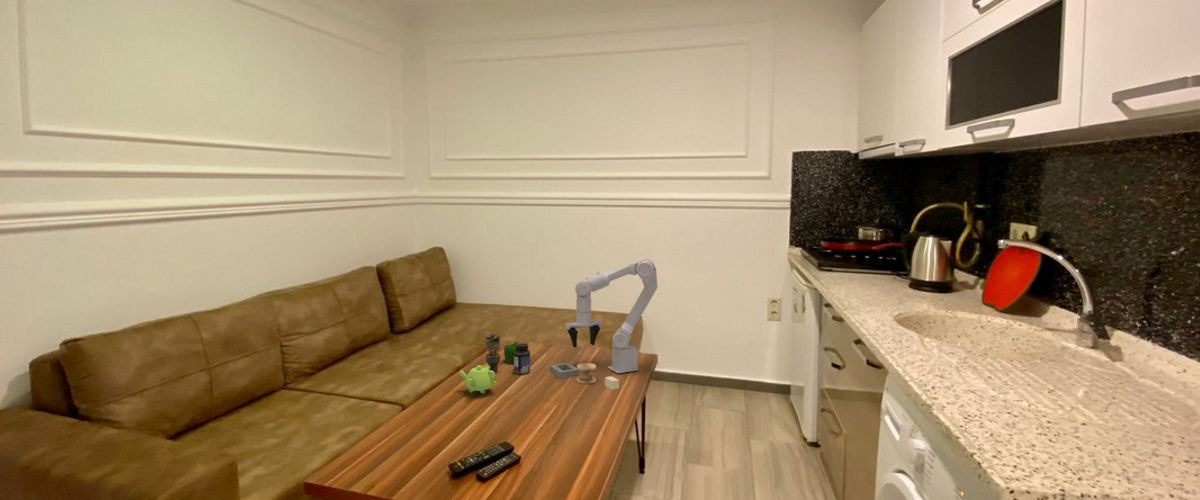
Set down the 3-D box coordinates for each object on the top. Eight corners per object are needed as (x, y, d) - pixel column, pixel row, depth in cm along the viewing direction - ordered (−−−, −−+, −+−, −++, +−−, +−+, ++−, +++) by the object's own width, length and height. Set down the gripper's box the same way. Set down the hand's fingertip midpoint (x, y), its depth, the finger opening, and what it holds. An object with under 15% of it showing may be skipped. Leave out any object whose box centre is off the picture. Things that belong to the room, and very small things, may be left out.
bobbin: (590, 376, 192) (590, 362, 192) (599, 382, 186) (599, 367, 186) (573, 379, 189) (573, 364, 188) (582, 385, 183) (582, 369, 182)
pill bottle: (531, 371, 199) (531, 342, 198) (528, 376, 193) (528, 347, 192) (516, 370, 199) (516, 342, 198) (512, 375, 193) (512, 346, 192)
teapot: (501, 391, 175) (501, 367, 175) (468, 398, 169) (468, 372, 169) (489, 382, 185) (489, 359, 184) (457, 388, 179) (457, 364, 178)
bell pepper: (501, 363, 209) (501, 338, 208) (521, 360, 212) (521, 336, 212) (507, 368, 201) (506, 343, 201) (527, 366, 205) (527, 341, 204)
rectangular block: (610, 385, 184) (611, 376, 183) (618, 388, 180) (618, 379, 179) (604, 386, 182) (604, 377, 182) (612, 390, 178) (612, 381, 178)
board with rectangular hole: (568, 369, 202) (568, 362, 201) (579, 376, 193) (579, 369, 192) (549, 371, 198) (549, 365, 198) (560, 379, 189) (560, 372, 189)
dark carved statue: (482, 373, 195) (481, 334, 194) (491, 370, 199) (491, 331, 198) (493, 376, 192) (493, 336, 191) (503, 372, 197) (502, 333, 196)
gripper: (595, 308, 206) (595, 341, 207) (562, 311, 200) (562, 345, 201) (603, 311, 200) (603, 345, 201) (569, 314, 194) (569, 349, 194)
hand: (583, 345), depth 201 cm, fingers open, 7 cm apart
